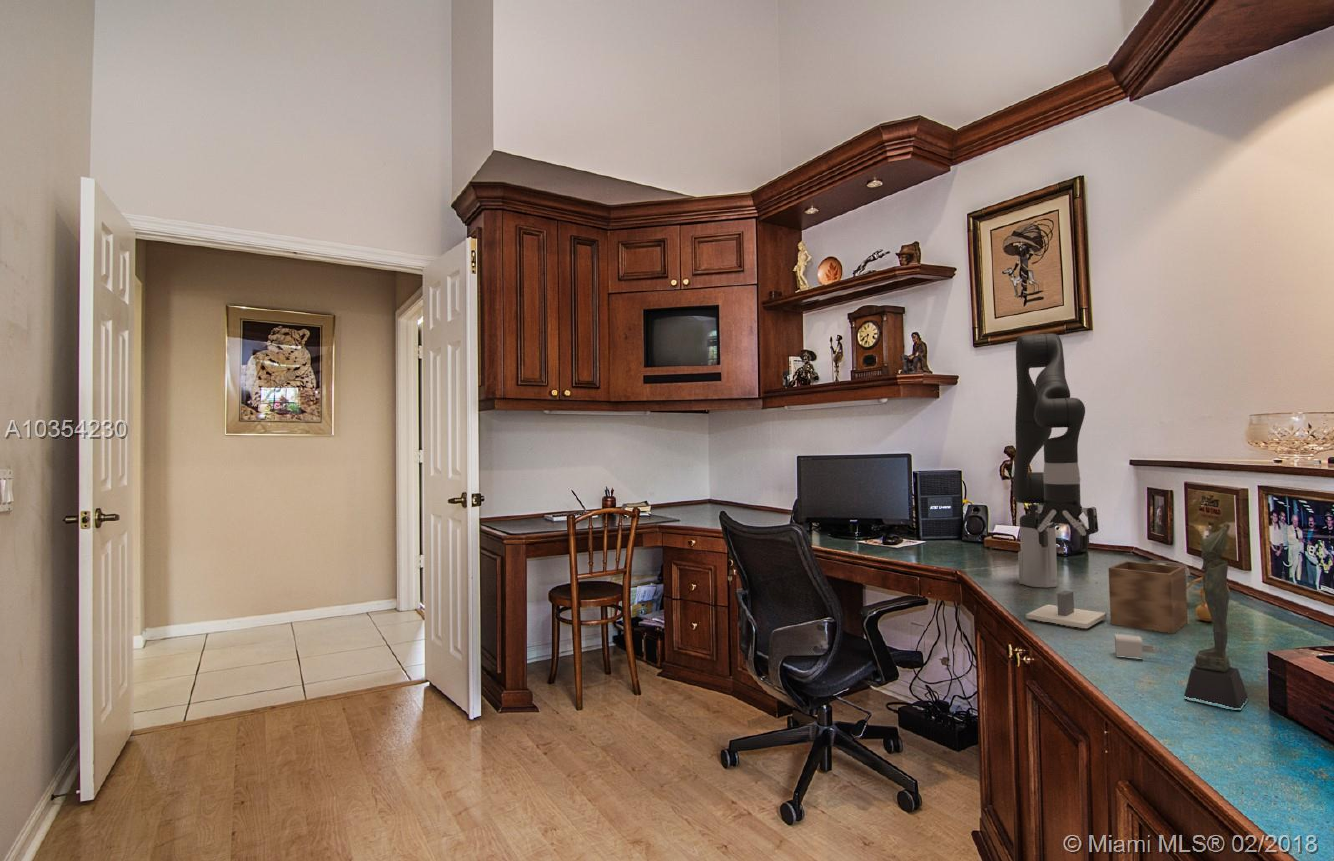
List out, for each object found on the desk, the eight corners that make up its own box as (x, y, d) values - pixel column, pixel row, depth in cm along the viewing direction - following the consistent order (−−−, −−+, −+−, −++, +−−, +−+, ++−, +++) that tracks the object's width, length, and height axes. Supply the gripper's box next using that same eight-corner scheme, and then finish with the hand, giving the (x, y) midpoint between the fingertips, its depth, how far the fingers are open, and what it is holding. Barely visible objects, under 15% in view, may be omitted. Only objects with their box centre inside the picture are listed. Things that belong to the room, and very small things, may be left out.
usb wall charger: (1115, 652, 138) (1114, 632, 139) (1156, 657, 135) (1156, 637, 135) (1116, 658, 135) (1115, 638, 135) (1159, 663, 132) (1158, 642, 132)
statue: (1193, 688, 118) (1186, 516, 119) (1249, 700, 112) (1241, 519, 113) (1182, 699, 113) (1175, 520, 114) (1240, 712, 108) (1233, 523, 108)
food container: (1202, 609, 169) (1200, 569, 169) (1174, 608, 170) (1172, 568, 170) (1175, 597, 181) (1174, 560, 181) (1149, 597, 182) (1148, 560, 182)
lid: (1026, 622, 163) (1025, 593, 163) (1048, 612, 171) (1046, 584, 172) (1086, 632, 153) (1085, 601, 153) (1106, 621, 162) (1105, 592, 162)
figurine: (1225, 620, 159) (1223, 568, 159) (1235, 627, 153) (1233, 573, 153) (1182, 617, 162) (1180, 567, 162) (1190, 624, 156) (1188, 572, 157)
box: (1110, 623, 159) (1108, 567, 159) (1127, 614, 166) (1125, 560, 167) (1172, 633, 150) (1170, 574, 150) (1187, 623, 157) (1185, 567, 157)
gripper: (1023, 481, 166) (1026, 547, 166) (1089, 483, 155) (1091, 554, 155) (1036, 479, 170) (1038, 543, 170) (1100, 481, 159) (1103, 550, 160)
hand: (1063, 548), depth 163 cm, fingers open, 8 cm apart
